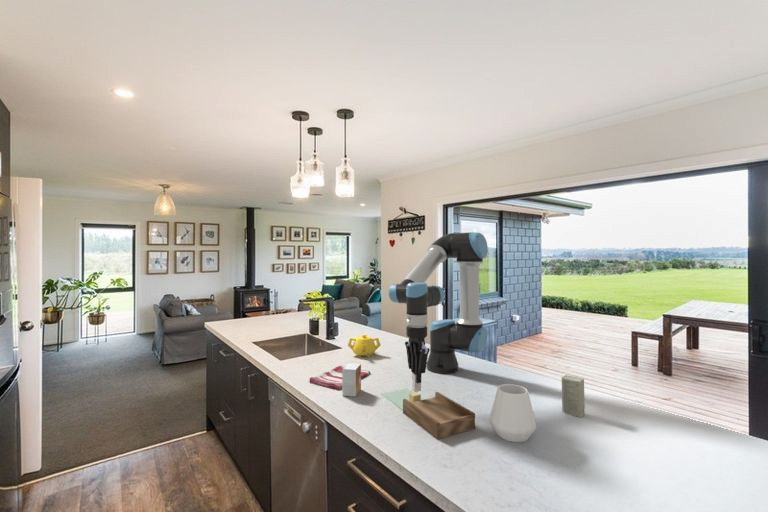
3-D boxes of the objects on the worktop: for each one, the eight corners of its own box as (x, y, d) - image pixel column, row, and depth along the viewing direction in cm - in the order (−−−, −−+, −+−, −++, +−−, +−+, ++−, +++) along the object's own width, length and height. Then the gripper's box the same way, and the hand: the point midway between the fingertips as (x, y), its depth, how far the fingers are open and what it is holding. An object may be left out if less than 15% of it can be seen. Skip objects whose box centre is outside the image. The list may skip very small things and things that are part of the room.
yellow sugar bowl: (380, 360, 186) (380, 339, 185) (345, 360, 186) (345, 339, 186) (381, 350, 206) (381, 330, 205) (349, 350, 206) (349, 330, 206)
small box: (355, 397, 138) (355, 369, 138) (342, 396, 139) (341, 369, 139) (361, 389, 146) (361, 363, 146) (348, 388, 147) (348, 362, 147)
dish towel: (307, 383, 154) (307, 377, 154) (342, 369, 174) (342, 363, 174) (338, 392, 145) (338, 385, 145) (371, 375, 165) (371, 369, 165)
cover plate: (407, 390, 147) (407, 378, 147) (432, 406, 131) (432, 393, 131) (380, 395, 141) (380, 383, 141) (403, 413, 126) (403, 399, 126)
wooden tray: (437, 404, 131) (437, 391, 131) (475, 428, 114) (475, 413, 114) (402, 413, 125) (402, 399, 125) (437, 439, 107) (437, 423, 107)
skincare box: (585, 413, 124) (585, 378, 124) (581, 418, 121) (581, 381, 121) (565, 408, 128) (565, 374, 128) (561, 412, 125) (561, 377, 125)
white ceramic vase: (531, 450, 101) (532, 401, 101) (484, 437, 108) (484, 391, 108) (539, 430, 112) (539, 386, 112) (496, 420, 119) (496, 378, 119)
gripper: (398, 323, 134) (398, 386, 134) (417, 330, 123) (417, 399, 123) (415, 321, 138) (415, 383, 138) (435, 327, 126) (435, 395, 126)
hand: (416, 390), depth 130 cm, fingers closed
